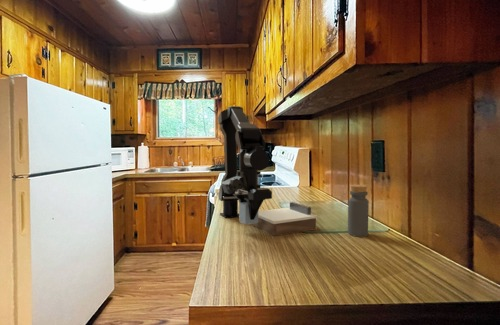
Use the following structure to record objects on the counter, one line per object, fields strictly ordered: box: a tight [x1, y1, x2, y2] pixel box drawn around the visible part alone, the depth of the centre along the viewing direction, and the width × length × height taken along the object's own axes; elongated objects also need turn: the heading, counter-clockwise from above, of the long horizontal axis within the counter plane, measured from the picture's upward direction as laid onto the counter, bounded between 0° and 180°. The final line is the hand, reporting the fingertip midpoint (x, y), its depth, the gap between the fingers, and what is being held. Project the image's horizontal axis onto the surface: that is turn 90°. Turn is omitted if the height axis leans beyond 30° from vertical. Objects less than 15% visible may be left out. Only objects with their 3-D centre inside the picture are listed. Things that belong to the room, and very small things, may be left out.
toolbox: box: [251, 217, 317, 237], centre depth 99 cm, size 14×16×4 cm
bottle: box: [347, 184, 370, 238], centre depth 91 cm, size 6×6×15 cm
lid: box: [258, 201, 318, 224], centre depth 99 cm, size 14×16×3 cm
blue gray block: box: [238, 202, 258, 225], centre depth 93 cm, size 4×4×6 cm
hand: (248, 217), depth 93 cm, fingers closed on blue gray block, 4 cm apart
